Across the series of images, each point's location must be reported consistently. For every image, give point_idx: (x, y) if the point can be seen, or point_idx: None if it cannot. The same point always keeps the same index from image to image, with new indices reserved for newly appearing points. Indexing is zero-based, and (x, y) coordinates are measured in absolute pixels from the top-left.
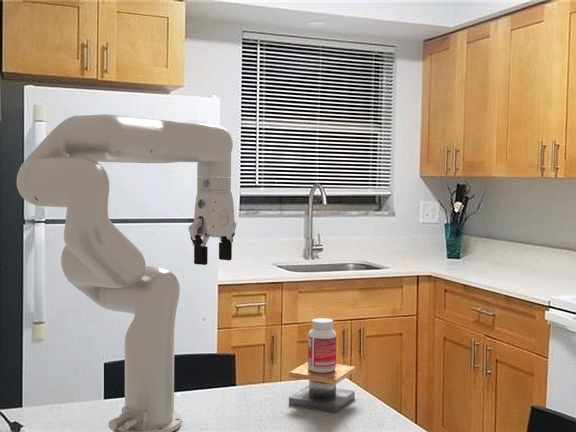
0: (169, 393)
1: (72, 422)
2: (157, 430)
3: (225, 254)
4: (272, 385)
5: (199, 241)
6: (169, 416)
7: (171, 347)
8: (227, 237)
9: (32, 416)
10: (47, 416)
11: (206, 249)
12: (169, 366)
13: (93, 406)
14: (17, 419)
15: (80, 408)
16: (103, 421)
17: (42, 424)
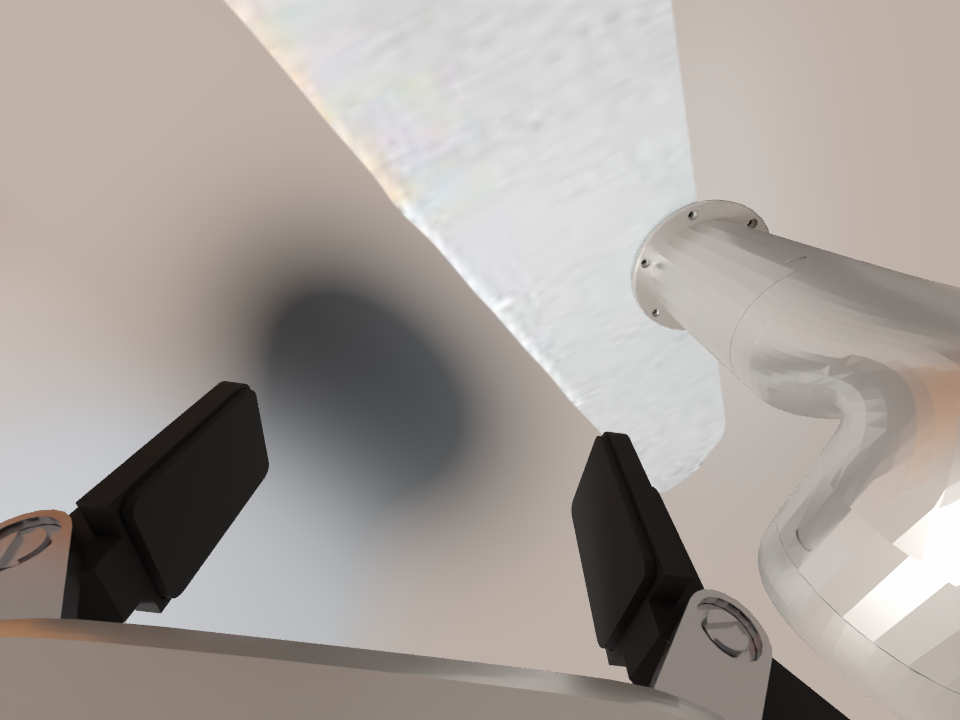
0: (760, 232)
1: (697, 394)
2: (763, 223)
3: (233, 451)
4: (344, 110)
5: (793, 696)
6: (728, 222)
7: (845, 261)
8: (72, 615)
9: (679, 455)
10: (676, 439)
11: (674, 544)
12: (812, 247)
13: (615, 405)
14: (695, 465)
15: (629, 417)
16: (685, 354)
17: (712, 427)
